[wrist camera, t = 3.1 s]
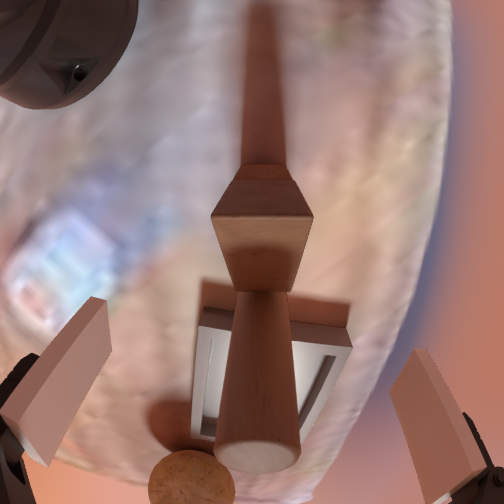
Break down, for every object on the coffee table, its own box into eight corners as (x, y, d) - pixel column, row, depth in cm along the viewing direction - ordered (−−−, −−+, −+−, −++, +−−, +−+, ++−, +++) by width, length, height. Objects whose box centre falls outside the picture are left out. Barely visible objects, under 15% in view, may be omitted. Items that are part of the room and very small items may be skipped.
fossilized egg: (237, 474, 43) (231, 547, 29) (165, 464, 43) (149, 534, 29) (238, 439, 38) (230, 532, 24) (152, 428, 38) (126, 513, 24)
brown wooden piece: (287, 163, 23) (340, 261, 7) (283, 286, 27) (298, 477, 11) (239, 163, 23) (175, 260, 7) (242, 286, 28) (216, 476, 11)
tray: (204, 306, 29) (198, 325, 26) (346, 328, 29) (352, 347, 26) (194, 420, 36) (190, 437, 33) (296, 433, 36) (297, 450, 34)
